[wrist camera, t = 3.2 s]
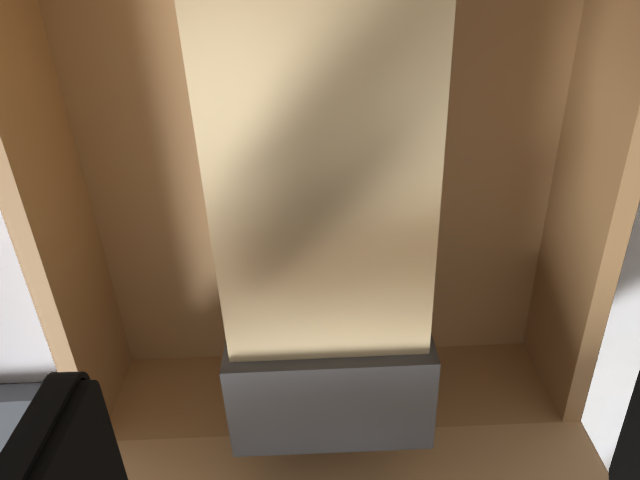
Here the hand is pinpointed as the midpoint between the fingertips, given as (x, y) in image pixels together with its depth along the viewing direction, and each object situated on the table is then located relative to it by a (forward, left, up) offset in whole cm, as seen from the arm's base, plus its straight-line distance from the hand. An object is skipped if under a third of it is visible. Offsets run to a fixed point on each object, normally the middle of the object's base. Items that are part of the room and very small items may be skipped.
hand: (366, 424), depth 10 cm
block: (-1, -1, -10) cm, 10 cm away
